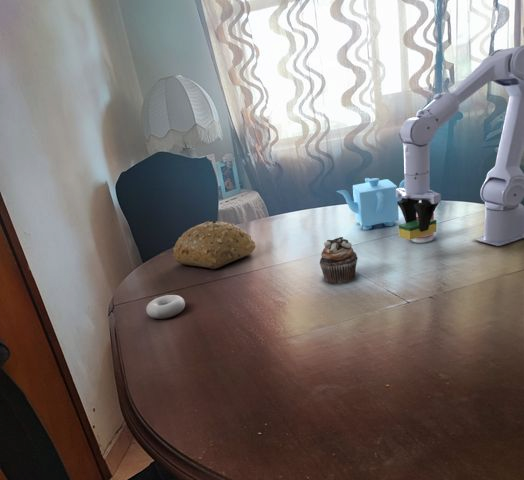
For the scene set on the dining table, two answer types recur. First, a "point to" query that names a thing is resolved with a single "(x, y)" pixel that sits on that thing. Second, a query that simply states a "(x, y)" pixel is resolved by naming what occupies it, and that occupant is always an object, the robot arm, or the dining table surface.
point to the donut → (165, 306)
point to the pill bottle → (426, 237)
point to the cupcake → (338, 261)
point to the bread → (212, 245)
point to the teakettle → (374, 202)
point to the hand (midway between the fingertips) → (417, 228)
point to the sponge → (415, 229)
